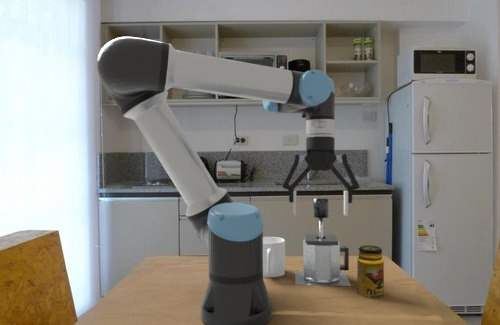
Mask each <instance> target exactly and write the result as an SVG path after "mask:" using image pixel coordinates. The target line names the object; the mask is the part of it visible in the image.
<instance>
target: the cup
mask: <svg viewBox="0 0 500 325" xmlns="http://www.w3.org/2000/svg"><path fill="white" fill-rule="evenodd" d="M285 241H286V240H285V239H284V238H282V237H278V236H263V278H278V277H282V276H285V274H286V244H285V243H286V242H285Z"/></svg>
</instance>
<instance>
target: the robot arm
mask: <svg viewBox="0 0 500 325" xmlns="http://www.w3.org/2000/svg"><path fill="white" fill-rule="evenodd" d="M96 65H97V66H96V68H97V72H98V76H99V78H100V80H101V82H102V85H103V88H104V89H105V91H106V93H107V94H108V95H109V97H111V99H112V100H113V102H114V104H115V105H116V106H117V108H118V110H119V111H120V113H121V114H122V116H123V117H124V118H127V119H130V120H133V121H134V122H135V124H136V126H137V127H138V129H139V131H140V133H141V134H142V135H143V137H144V138H145V141H146V142H147V143H148V145H149V146H150V148H151V149H152V151H153V153H154V155H155V156H156V157H157V159H158V160H159V162H160V164H161V166H162V168H163V169H164V171H165V172H166V173H167V175H168V177H169V179H170V180H171V182H172V183H173V185H174V186H175V188H176V190H177V191H178V193H179V195H180V196H181V197H182V199H183V202H184V203H185V204H186V210H185V211H186V212H185V216H186V217H187V220H188V221H189V222H190V224H191V225H192V228H194V231H195V233H196V235H197V237H198V239H199V241H200V242H202V243H203V244H204V246H206V248H207V249H208V283H207V285H206V288H205V292H204V295H203V298H202V302H201V305H200V306H201V307H200V319H201V321H202V322H203V323H204V324H205V325H266V324H268V322H269V321H270V320H271V318H272V315H273V314H272V313H273V311H272V301H271V299H270V296H269V293H268V289H267V286H266V284H265V281H264V277H263V237H264V221H263V214H262V211H261V209H259V208H258V207H257V206H255V205H252V204H246V203H242V202H234V200H233V199H232V197H231V195H230V194H229V192H228V190H227V189H226V188H223V187H218V185H217V184H216V183H215V182H216V181H215V180H214V179H213V177H212V176H211V174H210V172H209V171H208V169H207V168H206V166H205V164H204V162H203V161H202V159H201V157H200V156H199V154H198V152H197V150H196V149H195V147H194V146H193V144H192V143H191V141H190V139H189V138H188V136H187V134H186V132H185V131H184V129H183V128H182V126H181V124H180V122H179V120H178V119H177V117H176V116H175V114H174V112H173V110H172V109H171V107H170V106H169V105H168V103H167V100H168V99H167V98H168V94H169V92H168V90H170V89H171V88H172V89H179V90H186V91H194V92H201V93H208V94H213V95H222V96H229V97H234V98H235V97H236V98H242V99H250V100H256V101H257V100H258V101H262V105H263V108H264V110H265V112H266V113H275V114H302V115H304V114H305V120H306V121H305V127H306V128H305V133H306V134H305V135H306V136H307V137H306V138H305V146H306V147H305V148H306V149H305V155H301V154H300V155H299V154H298V153H296V154H295V155H294V160H293V163H292V166H291V167H290V170H289V171H288V173H287V176H286V177H285V179H284V181H283V184H282V188H283V189H286V190H288V201H289V203H293V205H292V206H293V207H292V208H293V211H292V212H293V216H297V190H295V189H296V188H297V187H298V185H299V184H300V183H301V182H302V180H304V178H305V177H306V176H307V174H308V173H309V172H311V170H312V171H314V172H319V171H323V172H327V171H330V172H331V173H332V174H333V175H334V176H335V178H336V179H337V180H338V181H339V182H340V183H341V184H342V186H343V187H344V188H345V189H346V190H343V216H344V217H348V216H349V204H352V203H353V191H355V190H357V189H360V184H359V183H358V180H357V179H356V177H355V174H354V173H353V171H352V168H351V166H350V164H349V162H348V156H347V154H344V153H343V154H338V155H337V154H336V152H335V151H336V150H335V147H336V146H335V145H336V144H335V142H336V141H335V136H334V135H335V114H336V113H335V110H336V109H335V108H336V107H335V106H336V105H335V104H336V102H335V97H336V91H335V80H333V78H331V77H329V76H328V75H327V73H325V71H323V70H320V69H310V70H309V69H308V70H306V71H305V72H303V71H298V70H297V71H296V70H290V69H284V68H279V67H273V66H268V65H262V64H255V63H251V62H250V63H249V62H245V61H239V60H233V59H228V58H223V57H218V56H211V55H208V54H207V55H206V54H200V53H194V52H188V51H184V50H178V49H175V47H174V46H173V45H172V43H168V42H162V41H157V40H152V39H147V38H141V37H134V36H121V37H116V38H115V39H112V40H110V41H108V42H107V43H106V44H104V46H102V47H101V49H100V51H99V54H98V56H97V61H96ZM303 160H304V161H305V163H306V164H307V166H306V167H305V168H304V169H303V170H302V172H300V174H299V175H298V176H297V177H296V179H295V180H294V181H293V182H292V183H291V184H290V182H291V179H292V178H293V175H294V174H295V172H296V170H297V168H298V165H299V163H302V161H303ZM336 161H338V163H341V165H342V167H343V169H344V171H345V173H346V175H347V177H348V179H349V181H350V182H351V183H349V182H348V181H347V180H346V179H345V178H344V176H343V175H342V174H341V173H340V172H339V171H338V169H337V168H336V167H335V165H334V164H335V162H336Z"/></svg>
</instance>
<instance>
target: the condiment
mask: <svg viewBox="0 0 500 325" xmlns="http://www.w3.org/2000/svg"><path fill="white" fill-rule="evenodd" d="M358 251H359V252H358V258H357V263H356V264H357V266H356V267H357V269H356V270H357V284H356V285H357V292H356V293H357V294H358V295H359V296H361V297H362V298H363V297H364V298H367V299H381V298H383V297H384V295H385V294H384V293H385V286H384V284H385V280H384V279H385V275H384V270H385V269H384V267H385V262H384V259H383V249H382V248H381V247H380V246H376V245H369V244H367V245H361V246H359V248H358Z"/></svg>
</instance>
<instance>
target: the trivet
mask: <svg viewBox="0 0 500 325" xmlns="http://www.w3.org/2000/svg"><path fill="white" fill-rule="evenodd" d="M294 274H295V285H296V286H305V285H306V286H327V287H328V286H335V287H352V284H351V283H350V280H349V278H348V276H347V274H346V272H345V271H340V280H339V281H338V282H336V283H333V284H315V283H311V282H308V281H306V280H305V279H304V270H295V271H294Z"/></svg>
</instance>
